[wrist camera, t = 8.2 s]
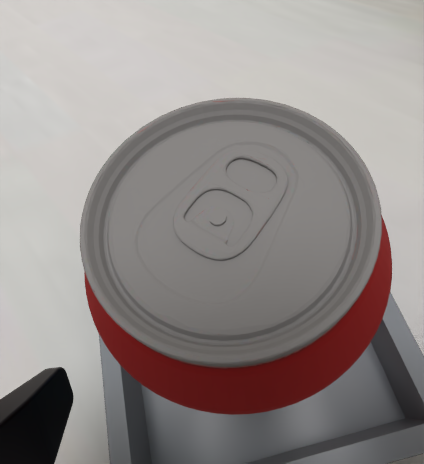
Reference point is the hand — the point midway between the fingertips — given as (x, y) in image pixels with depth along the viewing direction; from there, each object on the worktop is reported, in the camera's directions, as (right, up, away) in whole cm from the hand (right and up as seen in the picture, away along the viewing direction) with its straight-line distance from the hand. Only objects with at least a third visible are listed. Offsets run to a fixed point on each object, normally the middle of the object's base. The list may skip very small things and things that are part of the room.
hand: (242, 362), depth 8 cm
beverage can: (+1, -2, +9) cm, 9 cm away
